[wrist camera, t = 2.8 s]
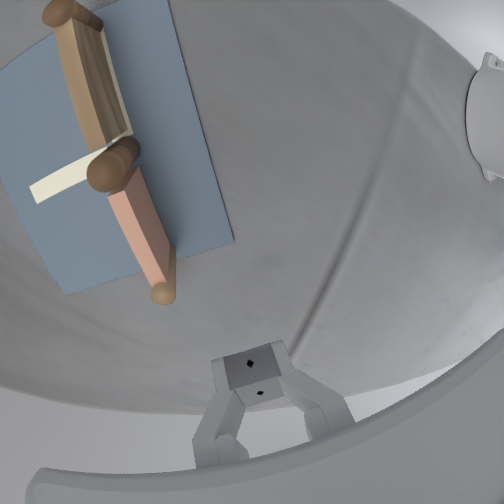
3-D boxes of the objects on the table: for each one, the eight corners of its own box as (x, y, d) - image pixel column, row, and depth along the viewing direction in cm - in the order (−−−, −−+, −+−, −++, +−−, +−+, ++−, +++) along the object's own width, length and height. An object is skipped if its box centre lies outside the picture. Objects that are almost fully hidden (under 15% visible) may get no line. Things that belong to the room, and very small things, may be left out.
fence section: (142, 164, 20) (127, 190, 15) (179, 256, 25) (179, 301, 20) (121, 172, 20) (101, 201, 15) (160, 262, 25) (157, 307, 20)
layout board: (163, -14, 13) (163, -15, 12) (233, 240, 26) (234, 242, 26) (-24, 93, 12) (-26, 93, 11) (66, 293, 25) (65, 296, 25)
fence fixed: (102, 12, 12) (71, -12, 7) (144, 157, 20) (127, 184, 14) (76, 24, 12) (39, 7, 7) (119, 167, 20) (95, 197, 14)
